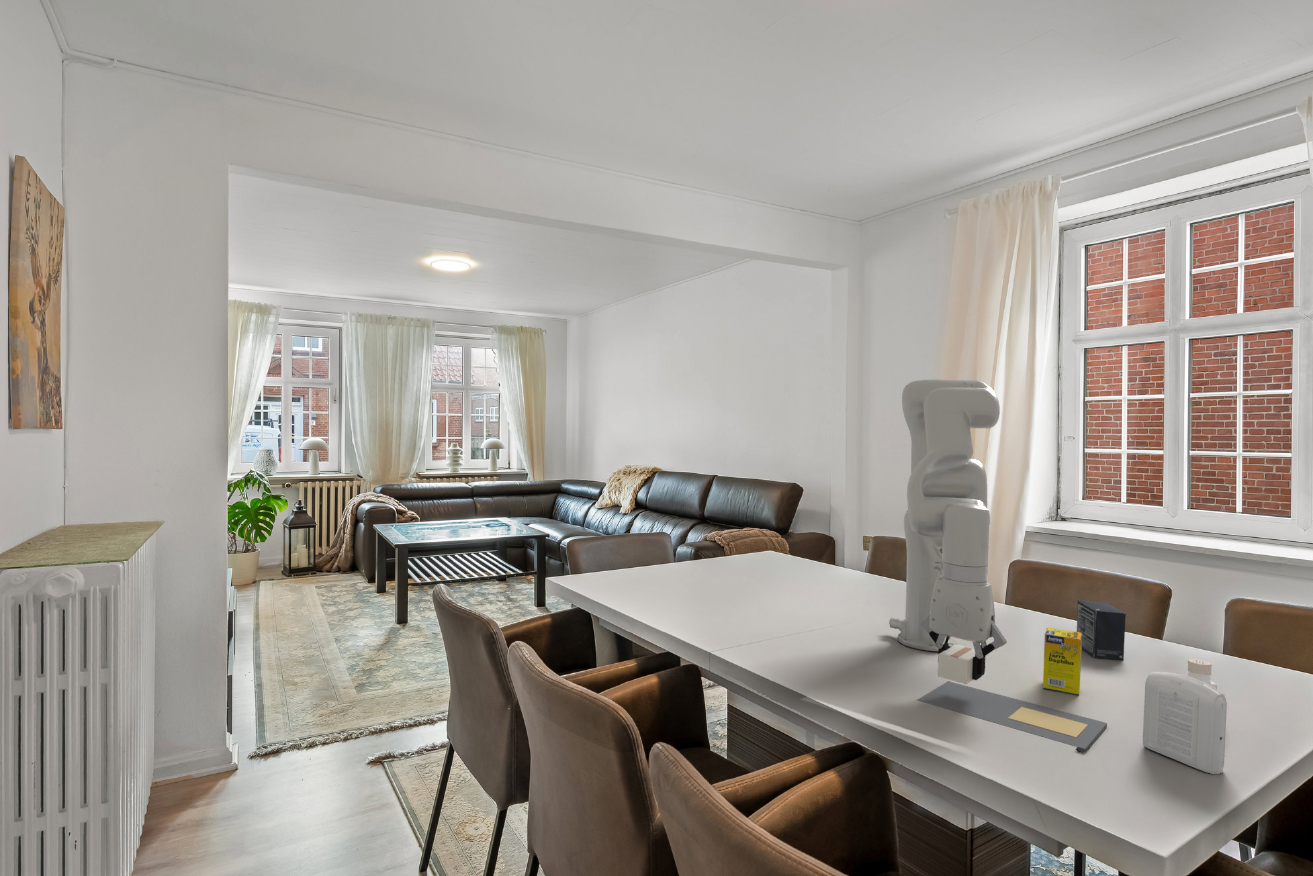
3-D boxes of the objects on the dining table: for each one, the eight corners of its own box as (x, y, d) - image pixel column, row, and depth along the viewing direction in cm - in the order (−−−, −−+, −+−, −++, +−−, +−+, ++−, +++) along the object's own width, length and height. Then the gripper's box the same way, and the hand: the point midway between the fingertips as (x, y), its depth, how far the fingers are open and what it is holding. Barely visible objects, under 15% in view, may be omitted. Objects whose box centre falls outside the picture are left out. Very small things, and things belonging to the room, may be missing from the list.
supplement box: (1079, 699, 128) (1081, 639, 128) (1042, 692, 131) (1044, 633, 131) (1080, 689, 133) (1082, 632, 133) (1044, 683, 136) (1046, 626, 136)
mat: (916, 703, 124) (916, 699, 124) (948, 684, 134) (948, 680, 134) (1085, 753, 106) (1085, 748, 106) (1107, 726, 116) (1107, 722, 116)
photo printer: (1230, 772, 101) (1233, 686, 100) (1212, 777, 99) (1215, 690, 99) (1154, 742, 110) (1157, 664, 110) (1137, 747, 108) (1139, 667, 108)
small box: (1126, 661, 151) (1128, 612, 151) (1093, 658, 152) (1094, 610, 152) (1105, 646, 162) (1107, 601, 161) (1074, 644, 163) (1075, 599, 163)
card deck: (937, 676, 125) (938, 653, 125) (955, 665, 130) (956, 643, 130) (966, 684, 121) (967, 660, 121) (983, 672, 127) (984, 650, 127)
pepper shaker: (1203, 723, 118) (1205, 666, 118) (1178, 714, 122) (1179, 659, 122) (1218, 719, 120) (1219, 664, 120) (1192, 711, 123) (1193, 657, 123)
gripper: (908, 568, 129) (905, 666, 129) (1008, 585, 117) (1004, 693, 117) (926, 562, 134) (923, 656, 134) (1022, 578, 122) (1018, 681, 123)
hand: (960, 672), depth 126 cm, fingers closed on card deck, 4 cm apart
